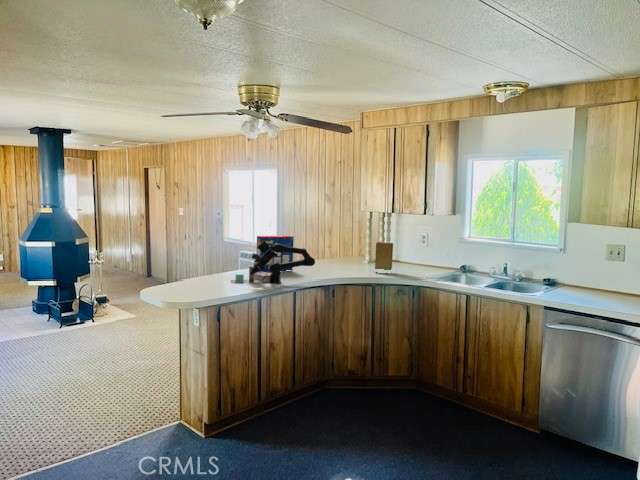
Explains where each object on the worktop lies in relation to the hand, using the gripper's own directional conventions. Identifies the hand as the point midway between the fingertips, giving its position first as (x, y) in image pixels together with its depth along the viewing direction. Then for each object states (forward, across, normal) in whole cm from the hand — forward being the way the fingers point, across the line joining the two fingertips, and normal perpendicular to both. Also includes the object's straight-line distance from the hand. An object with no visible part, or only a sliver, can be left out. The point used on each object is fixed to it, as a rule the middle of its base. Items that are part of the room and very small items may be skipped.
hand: (250, 273), depth 326 cm
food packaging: (-74, -42, +84) cm, 119 cm away
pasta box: (-11, -50, +21) cm, 55 cm away
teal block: (+9, 0, -1) cm, 9 cm away
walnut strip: (+7, 0, +2) cm, 7 cm away
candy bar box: (-1, -18, +7) cm, 19 cm away
